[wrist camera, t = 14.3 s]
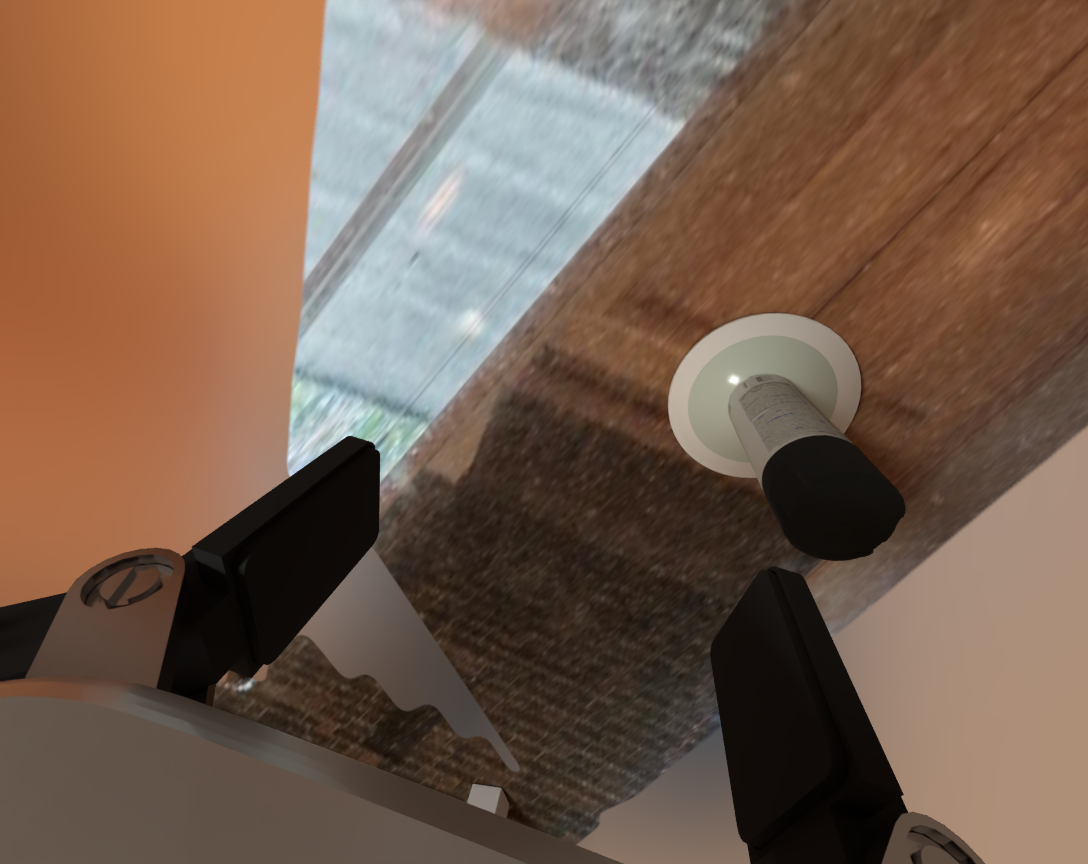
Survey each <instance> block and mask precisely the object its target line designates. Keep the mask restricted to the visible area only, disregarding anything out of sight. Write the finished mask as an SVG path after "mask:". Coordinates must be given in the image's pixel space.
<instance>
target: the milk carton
mask: <svg viewBox="0 0 1088 864" xmlns="http://www.w3.org/2000/svg"><path fill="white" fill-rule="evenodd" d="M467 803H468V804H471V805H474V806H476V807H479V808H481V809H484V810H487V811H489V812H492V813H494V814H497V815H500V816H502V817H505V818H507V813H508V809H509V803H508V800H507V798H506V796H505V794H504V792H503V790H502V788H499V787H493V786H486V785H478V784H473V785H472V789H471V792H470V795H469V799H468V802H467Z"/></svg>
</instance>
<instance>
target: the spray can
mask: <svg viewBox="0 0 1088 864" xmlns="http://www.w3.org/2000/svg"><path fill="white" fill-rule="evenodd" d="M728 414H729V417H730V420H731V422H732V424H733V426H734V428H735V431H736V433H737V435H738V437H739V439H740V441H741V443H742V446H743V448H744V450H745V452H746V454H747V457H748V459H749V461H750V463H751V465H752V468H753V470H754V472H755V474H756V476H757V479H758V481H759V483H760V485H761V488H762V490H763V492H764V494H765V496H766V498H767V500H768V502H769V504H770V506H771V508H772V510H773V512H774V514H775V516H776V518H777V520H778V522H779V524H780V526H781V528H782V530H783V532H784V534H785V536H786V537H787V539H788V540H789V542H790V543H791V544H792V545H793V546H794V547H795V548H797V549H798V550H800V551H802V552H804V553H805V554H807V555H810V556H812V557H815V558H819V559H824V560H831V561H845V560H852V559H856V558H860V557H865V556H868V555H870V554H872V553H873V549H875V548H876V547H877V546H879V545H880V544H881V543H882V542H885V541H887V539H888V538H889V537H890V536H891V535H892V533H893V532H894V530H895V528H896V525H897V523H898V522H899V520H900V519H901V518H902V517H904V514H905V510H906V509H905V503H904V499H903V497H902V496H901V494H900V493H899V491H898V490H897V489H896V488H895V487H894V486H893V485H892V484H891V482H890V481H889V480H888V479H887V478H886V477H885V476H884V475H883V474H882V473H881V472H880V471H879V470H878V469H877V468H876V467H875V466H874V465H873V464H872V462H871V461H870V460H869V459H868V458H867V457H866V456H865V455H864V454H863V453H862V452H861V450H860V449H858V448H857V447H856V446H855V445H854V444H853V443H852V442H851V441H850V440H849V439H848V438H847V437H846V436H845V435H844V434H843V433H842V432H841V431H840V430H839V429H838V428H837V427H836V426H835V425H834V424H833V423H832V422H831V421H830V420H829V419H828V418H827V417H826V416H825V415H824V414H823V413H822V412H821V411H820V410H819V409H818V408H817V407H816V406H815V405H814V404H813V403H812V402H811V401H810V400H809V399H808V398H807V397H806V396H805V395H804V394H803V393H802V392H801V391H800V390H799V389H798V388H797V387H796V386H795V385H794V384H793V383H791V382H790V381H789V380H787V379H786V378H784V377H781V376H779V375H775V374H759V375H754V376H750V377H749V378H747V379H746V380H744V381H743V382H741V383H740V384H739V385H738V386H737V387H736V388H735V389H734V391H733V392H732V393H731V395H730V398H729V402H728Z"/></svg>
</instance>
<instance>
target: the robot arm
mask: <svg viewBox="0 0 1088 864" xmlns="http://www.w3.org/2000/svg"><path fill="white" fill-rule="evenodd" d="M379 498H380V453H379V451H378V450H375V445H374V444H373V443H372V442H369V441H366V440H363V439H360V438H356V437H353V436H348V437H346V438H344V439H343V440H341V441H340V442H339V443H337V444H336V445H334V446H333V447H332V448H330V449H329V450H327V451H326V452H325V453H323V454H322V455H320V456H319V457H317V458H316V459H315V460H313V461H312V462H310V463H309V464H308V465H306V466H305V467H303V468H302V469H301V470H299V471H298V472H296V473H295V474H294V475H292V476H291V477H289V478H288V479H286V480H285V481H284V482H283V483H281V484H279V485H278V486H277V487H275V488H274V489H272V490H271V491H270V492H268V493H267V494H265V495H264V496H263V497H261V498H260V499H258V500H257V501H256V502H254V503H253V504H251V505H250V506H248V507H247V508H246V509H244V510H243V511H241V512H240V513H239V514H237V515H236V516H234V517H233V518H232V519H230V520H229V521H227V522H226V523H224V524H223V525H222V526H220V527H219V528H218V529H216V530H215V531H213V532H212V533H210V534H209V535H208V536H206V537H205V538H203V539H202V540H201V541H199V542H198V543H196V544H195V545H194V546H192V549H191V550H190V551H189V552H187V553H186V554H185V555H183V556H182V557H181V556H180V555H179V554H178V553H176V552H174V551H172V550H169V549H161V548H148V549H139V550H135V551H130V552H126V553H122V554H120V555H117V556H114V557H112V558H109V559H107V560H105V561H103V562H101V563H99V564H97V565H96V566H94V567H92V568H90V569H89V570H88V571H86V572H85V573H84V574H83V575H81V576H80V577H79V578H78V579H76V581H75V582H74V583H73V585H72V586H71V587H70V589H69V590H68V592H67V593H63V594H58V595H54V596H49V597H45V598H40V599H36V600H31V601H27V602H22V603H18V604H13V605H9V606H5V607H0V864H623V863H620V862H617V861H615V860H613V859H610V858H607V857H605V856H602V855H600V854H597V853H595V852H592V851H589V850H587V849H584V848H582V847H579V846H577V845H574V844H572V843H569V842H567V841H564V840H561V839H559V838H556V837H554V836H551V835H549V834H546V833H543V832H541V831H538V830H536V829H533V828H531V827H528V826H525V825H523V824H520V823H518V822H515V821H512V820H510V819H507V818H505V817H502V816H500V815H497V814H494V813H492V812H489V811H487V810H484V809H481V808H479V807H476V806H474V805H471V804H468V803H466V802H463V801H461V800H458V799H456V798H453V797H450V796H448V795H445V794H443V793H440V792H437V791H435V790H432V789H430V788H427V787H424V786H422V785H419V784H417V783H414V782H411V781H409V780H406V779H404V778H401V777H398V776H396V775H393V774H391V773H388V772H385V771H383V770H380V769H377V768H375V767H372V766H370V765H367V764H364V763H362V762H359V761H356V760H354V759H351V758H349V757H346V756H343V755H341V754H338V753H335V752H333V751H330V750H327V749H325V748H322V747H320V746H317V745H314V744H312V743H309V742H306V741H304V740H301V739H299V738H296V737H293V736H291V735H288V734H285V733H283V732H280V731H277V730H275V729H272V728H270V727H267V726H264V725H262V724H259V723H256V722H253V721H250V720H248V719H245V718H242V717H239V716H236V715H233V714H231V713H228V712H225V711H222V710H219V709H217V708H214V707H213V704H214V697H215V689H216V683H217V682H218V681H219V680H220V679H221V678H222V677H223V676H224V675H225V674H226V673H227V672H228V671H229V670H231V671H233V672H236V673H239V674H241V675H244V676H247V677H249V678H252V677H253V676H254V675H255V673H256V672H257V671H258V670H259V669H260V668H261V667H262V665H263V664H265V665H268V664H271V663H272V662H273V661H275V660H276V659H277V657H278V656H279V655H280V654H281V653H282V652H283V650H284V649H285V648H286V647H287V646H288V645H289V643H290V642H291V641H292V640H293V639H294V637H295V636H296V635H297V634H298V633H299V631H300V630H301V629H302V628H303V627H304V626H305V625H306V623H307V622H308V621H309V620H310V619H311V617H312V616H313V615H314V614H315V613H316V612H317V610H318V609H319V608H320V607H321V606H322V604H323V603H324V602H325V601H326V600H327V598H328V597H329V596H330V595H331V594H332V593H333V591H334V590H335V589H336V588H337V587H338V586H339V584H340V583H341V582H342V581H343V580H344V579H345V577H346V576H347V575H348V574H349V572H350V571H351V570H352V569H353V568H354V567H355V566H356V564H357V563H358V562H359V561H360V560H361V558H362V557H363V556H364V555H365V554H366V552H367V551H368V550H369V549H370V548H371V547H372V545H373V544H374V543H375V541H376V539H377V537H378V533H379ZM710 656H711V664H712V670H713V676H714V683H715V689H716V695H717V702H718V708H719V714H720V721H721V727H722V733H723V740H724V746H725V752H726V759H727V765H728V771H729V778H730V784H731V791H732V797H733V803H734V809H735V816H736V822H737V827H738V832H739V835H740V837H741V839H742V841H743V842H745V843H747V845H748V851H749V857H750V863H751V864H985V863H984V862H983V861H982V859H981V858H980V857H979V856H978V855H977V854H976V853H975V852H974V851H973V850H972V849H971V848H970V847H969V846H968V845H967V844H966V843H965V842H964V841H963V840H962V839H961V838H960V837H959V836H957V835H956V834H955V833H953V832H952V831H951V830H950V829H948V828H947V827H946V826H945V825H943V824H941V823H940V822H937V821H936V820H934V819H932V818H931V817H928V816H927V815H923V814H919V813H915V812H910V813H908V811H907V809H906V807H905V804H904V802H903V800H902V798H901V796H902V795H904V794H903V792H902V790H901V788H900V786H899V783H898V781H897V779H896V777H895V775H894V773H893V770H892V768H891V766H890V764H889V762H888V760H887V757H886V755H885V753H884V751H883V749H882V746H881V744H880V742H879V740H878V738H877V736H876V733H875V731H874V729H873V727H872V725H871V723H870V720H869V718H868V716H867V714H866V712H865V709H864V707H863V705H862V703H861V701H860V699H859V697H858V694H857V692H856V690H855V688H854V686H853V684H852V681H851V679H850V677H849V675H848V673H847V670H846V668H845V666H844V664H843V662H842V659H841V657H840V655H839V653H838V651H837V649H836V646H835V644H834V642H833V640H832V638H831V635H830V633H829V631H828V629H827V627H826V625H825V622H824V620H823V618H822V616H821V614H820V612H819V609H818V607H817V605H816V603H815V601H814V598H813V596H812V594H811V592H810V590H809V588H808V585H807V583H806V581H805V579H804V578H803V576H801V575H800V574H798V573H794V572H791V571H788V570H785V569H781V568H778V567H773V566H772V567H770V568H769V569H768V570H767V571H766V570H761V571H760V572H759V573H758V574H757V575H756V577H755V578H754V580H753V581H752V583H751V585H750V586H749V588H748V589H747V591H746V592H745V594H744V595H743V597H742V598H741V600H740V601H739V603H738V604H737V606H736V607H735V609H734V610H733V612H732V613H731V615H730V616H729V618H728V619H727V621H726V622H725V624H724V625H723V627H722V628H721V630H720V631H719V633H718V634H717V636H716V637H715V639H714V640H713V642H712V645H711V651H710Z"/></svg>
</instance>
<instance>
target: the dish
mask: <svg viewBox="0 0 1088 864" xmlns="http://www.w3.org/2000/svg"><path fill="white" fill-rule="evenodd" d="M759 374H775V375H779V376H781V377H784V378H786V379H787V380H789V381H790V382H791V383H793V384H794V385H795V386H796V387H797V388H798V389H799V390H800V391H801V392H802V393H803V394H804V395H805V396H806V397H807V398H808V399H809V400H810V401H811V402H812V403H813V404H814V405H815V406H816V407H817V408H818V409H819V410H820V411H821V412H822V413H823V414H824V415H825V416H826V417H827V418H828V419H829V420H830V421H831V422H832V423H833V424H834V425H835V426H836V427H837V428H838V429H839V430H840V431H841V432H842V433H843V434H844V433H845V431H846V430H847V428H848V427H849V425H850V423H851V422H852V420H853V418H854V415H855V413H856V411H857V408H858V404H859V400H860V394H861V376H860V371H859V367H858V364H857V361H856V359H855V356H854V354H853V353H852V351H851V350H850V348H849V347H848V345H847V344H846V343H845V342H844V341H843V340H842V338H841V337H840V336H838V335H837V334H836V333H835V332H833V331H832V330H831V329H829V328H827V327H826V326H824V325H822V324H820V323H818V322H816V321H814V320H812V319H809V318H806V317H804V316H800V315H796V314H791V313H782V312H763V313H757V314H750V315H747V316H743V317H739V318H736V319H734V320H731V321H729V322H726V323H724V324H722V325H721V326H719V327H717V328H715V329H713V330H712V331H710V332H709V333H708V334H706V335H705V336H703V337H702V338H701V339H700V340H699V341H698V342H696V343H695V344H694V345H693V346H692V347H691V349H690V350H689V351H688V352H687V353H686V354H685V356H684V357H683V359H682V360H681V362H680V363H679V365H678V367H677V369H676V371H675V373H674V375H673V378H672V381H671V383H670V388H669V393H668V412H669V418H670V423H671V427H672V429H673V432H674V434H675V436H676V438H677V440H678V442H679V443H680V445H681V446H682V447H683V448H684V450H685V451H686V452H687V453H688V454H689V455H690V456H691V457H692V458H693V459H695V460H696V461H698V462H699V463H700V464H702V465H704V466H705V467H707V468H709V469H711V470H714V471H716V472H719V473H722V474H726V475H729V476H735V477H743V478H757V476H756V474H755V472H754V470H753V468H752V465H751V463H750V461H749V459H748V457H747V454H746V452H745V450H744V448H743V446H742V443H741V441H740V439H739V437H738V435H737V433H736V431H735V428H734V426H733V424H732V422H731V420H730V417H729V414H728V402H729V398H730V395H731V393H732V392H733V391H734V389H735V388H736V387H737V386H738V385H739V384H740V383H741V382H743V381H744V380H746V379H747V378H749V377H750V376H754V375H759Z"/></svg>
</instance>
